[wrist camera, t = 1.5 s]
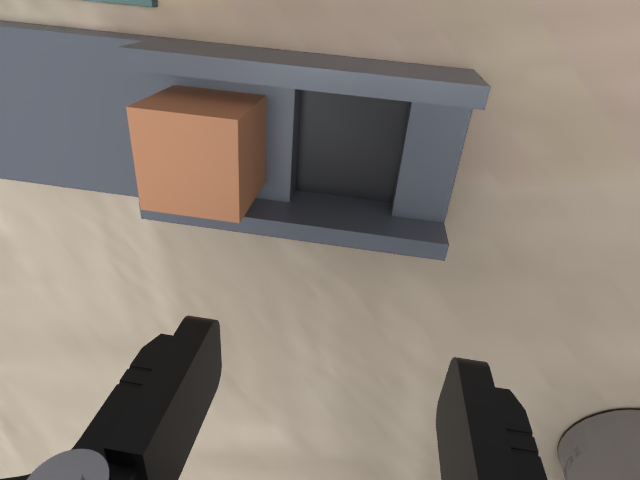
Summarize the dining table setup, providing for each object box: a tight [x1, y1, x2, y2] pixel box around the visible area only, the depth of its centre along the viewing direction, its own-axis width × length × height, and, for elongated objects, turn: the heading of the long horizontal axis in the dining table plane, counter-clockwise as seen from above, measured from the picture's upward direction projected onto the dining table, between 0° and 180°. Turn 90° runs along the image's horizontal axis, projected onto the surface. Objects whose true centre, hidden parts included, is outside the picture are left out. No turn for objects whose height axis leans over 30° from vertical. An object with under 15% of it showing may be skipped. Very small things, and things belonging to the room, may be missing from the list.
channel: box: [0, 21, 490, 261], centre depth 24 cm, size 28×9×4 cm, turn 86°
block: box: [126, 85, 266, 223], centre depth 22 cm, size 5×5×5 cm
